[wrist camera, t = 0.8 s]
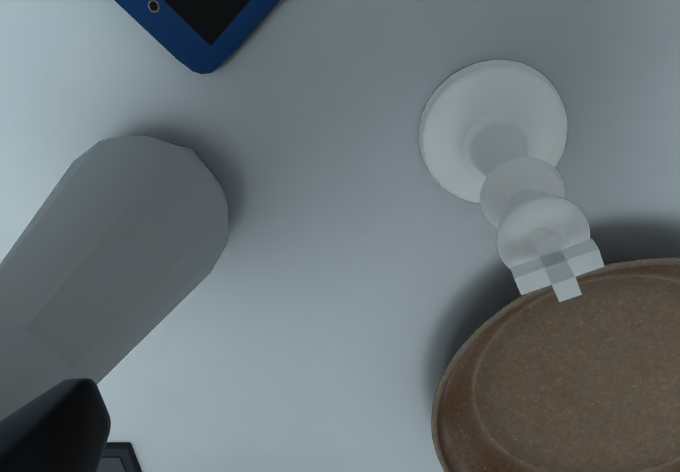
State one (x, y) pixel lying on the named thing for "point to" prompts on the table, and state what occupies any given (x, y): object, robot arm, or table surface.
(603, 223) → the table surface
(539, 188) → the chess piece
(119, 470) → the charcoal mat
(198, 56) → the cell phone
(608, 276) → the saucer
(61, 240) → the salt shaker
